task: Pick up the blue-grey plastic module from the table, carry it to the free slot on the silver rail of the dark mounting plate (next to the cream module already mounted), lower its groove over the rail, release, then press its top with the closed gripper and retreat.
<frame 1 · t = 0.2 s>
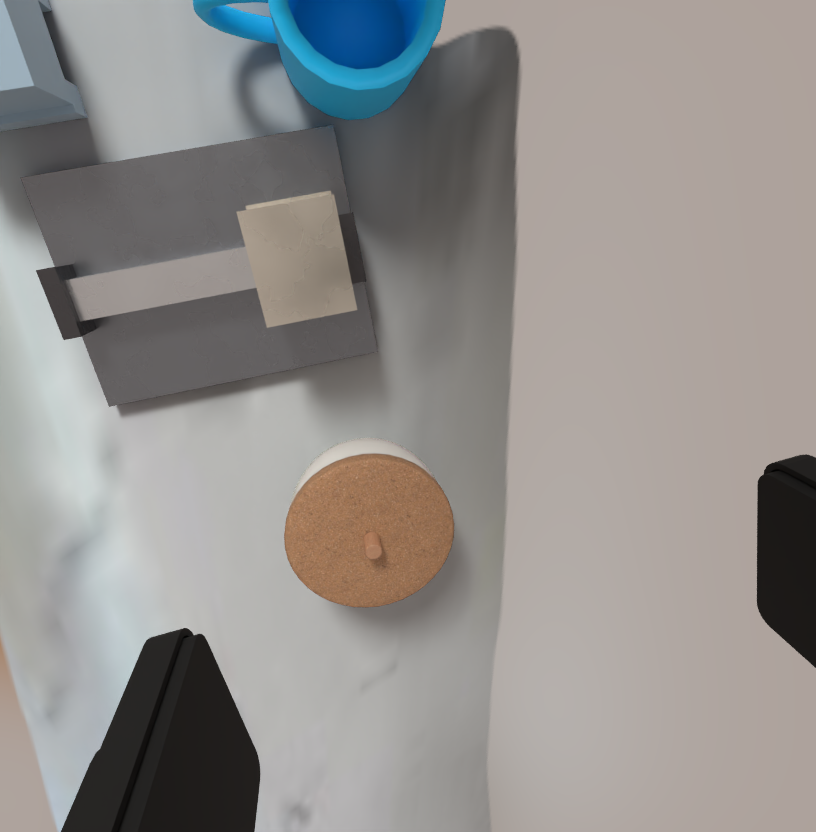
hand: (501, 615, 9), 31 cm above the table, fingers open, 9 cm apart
rail plate: (218, 271, 35), on the table
module: (3, 58, 30), on the table
lidded jar: (362, 482, 42), on the table
mug: (315, 40, 32), on the table
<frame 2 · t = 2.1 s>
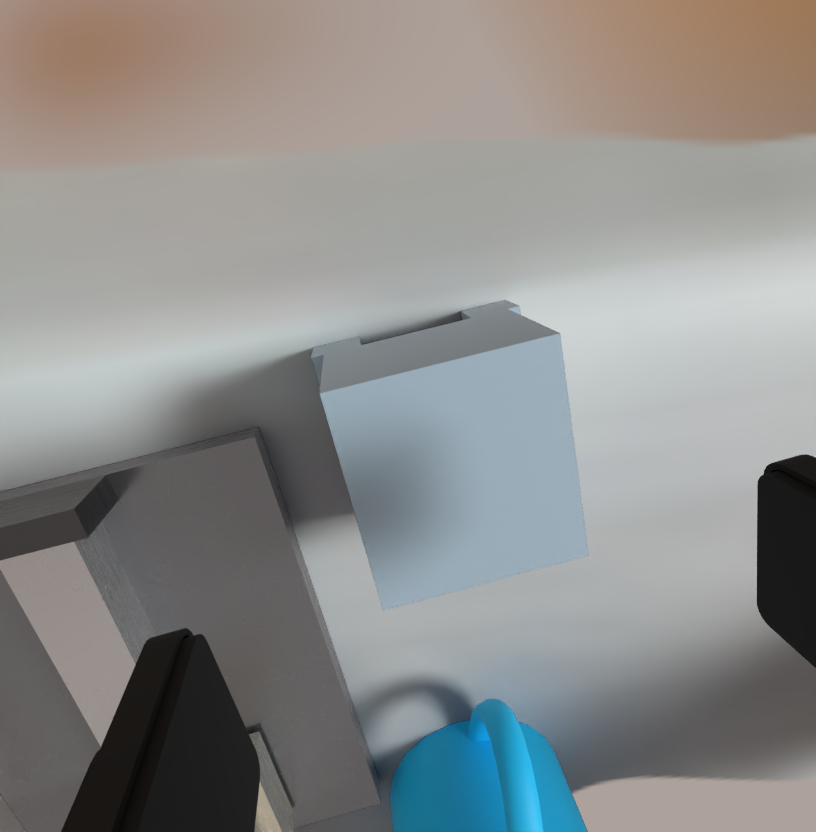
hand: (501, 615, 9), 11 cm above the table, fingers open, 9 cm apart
rail plate: (156, 674, 22), on the table
module: (429, 410, 20), on the table
mug: (475, 749, 26), on the table
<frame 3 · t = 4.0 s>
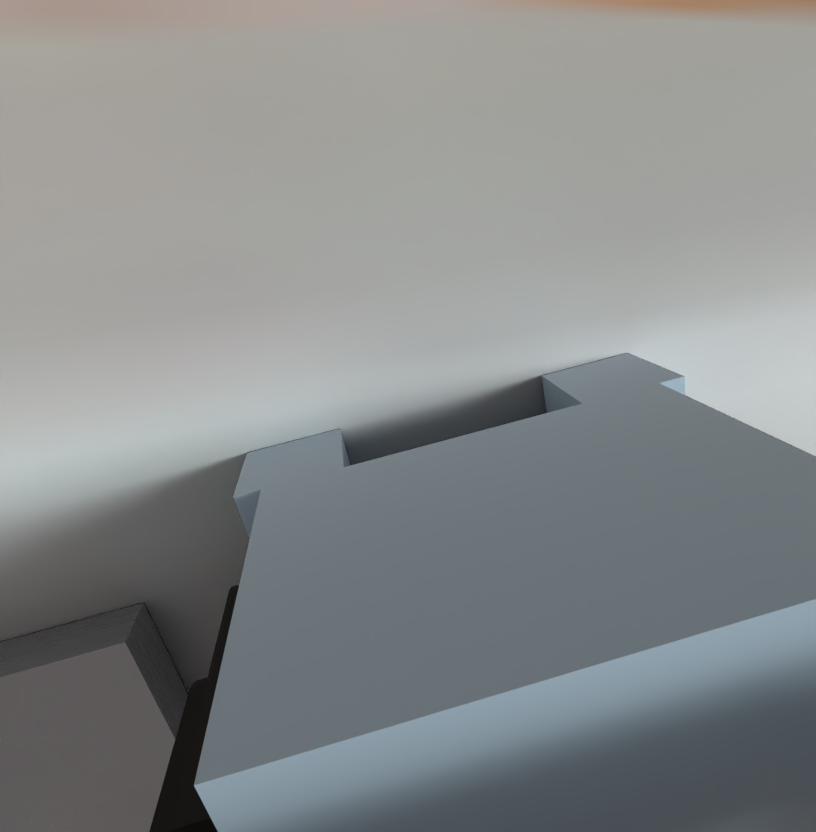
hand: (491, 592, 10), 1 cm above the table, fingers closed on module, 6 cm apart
module: (474, 557, 11), on the table, touching gripper
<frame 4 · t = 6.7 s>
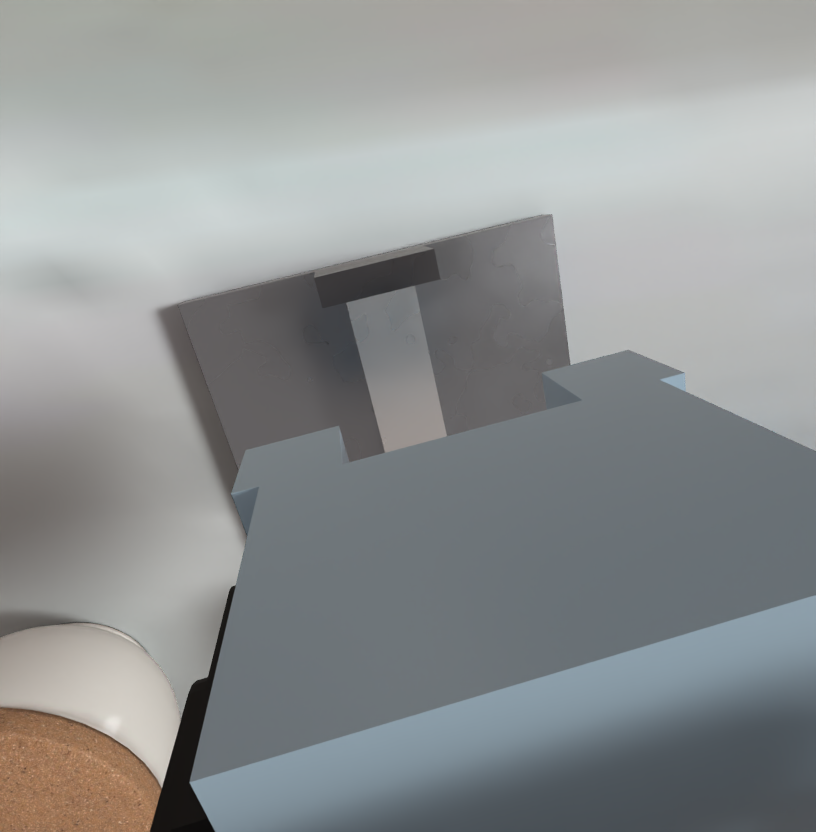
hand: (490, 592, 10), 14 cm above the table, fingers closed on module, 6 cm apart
rail plate: (416, 465, 24), on the table
module: (474, 555, 11), point 13 cm above the table, touching gripper
lidded jar: (86, 673, 25), on the table
when the fingers open (3 cm above the table, at t = 9.5 s): module stays where it is, resting on rail plate.
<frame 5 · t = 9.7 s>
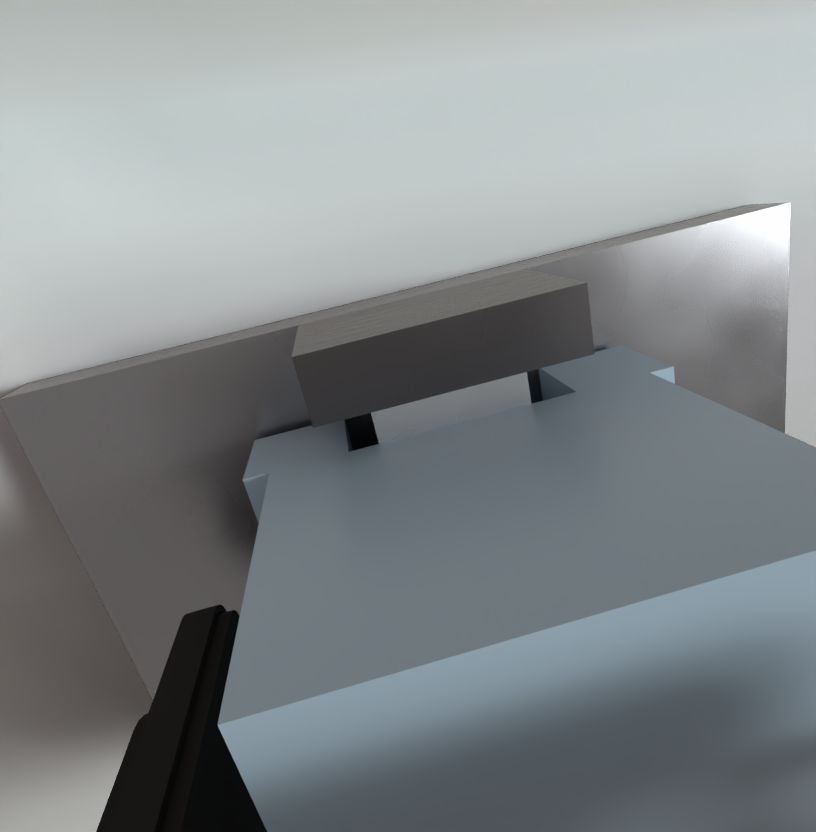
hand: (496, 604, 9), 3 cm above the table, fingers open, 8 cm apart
rail plate: (485, 654, 14), on the table
module: (473, 543, 11), point 1 cm above the table, touching rail plate
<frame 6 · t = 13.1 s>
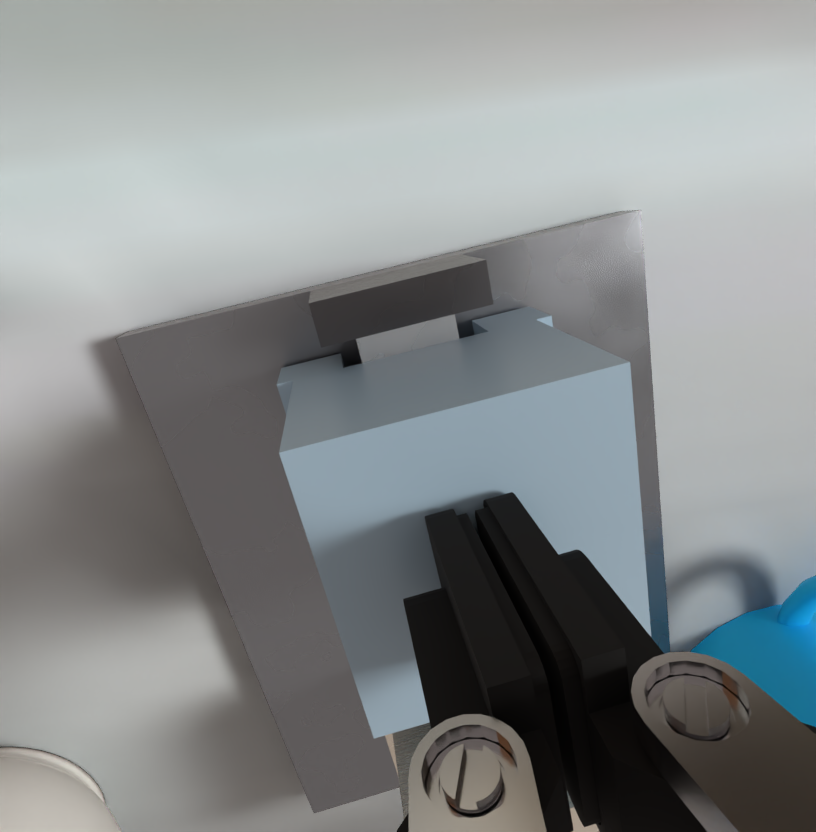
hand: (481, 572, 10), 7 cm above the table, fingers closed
rail plate: (445, 541, 18), on the table
module: (431, 446, 16), point 1 cm above the table, touching gripper, rail plate
lidded jar: (16, 806, 20), on the table
mug: (761, 645, 22), on the table
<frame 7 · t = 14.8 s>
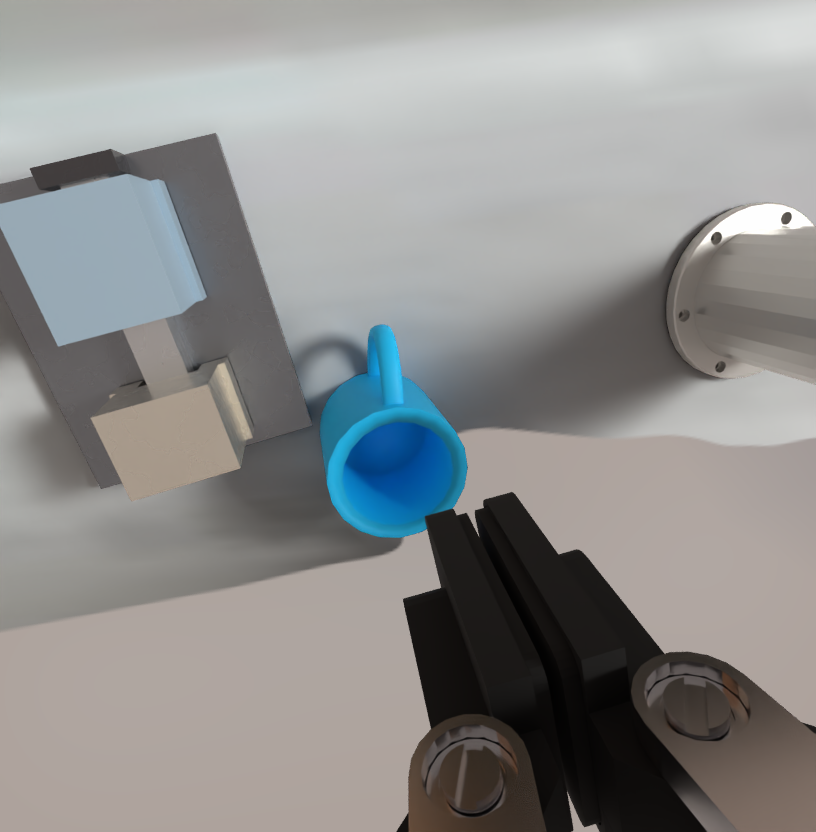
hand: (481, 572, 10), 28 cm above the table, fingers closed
rail plate: (157, 321, 34), on the table
module: (126, 256, 31), point 1 cm above the table, touching rail plate
mug: (376, 400, 39), on the table
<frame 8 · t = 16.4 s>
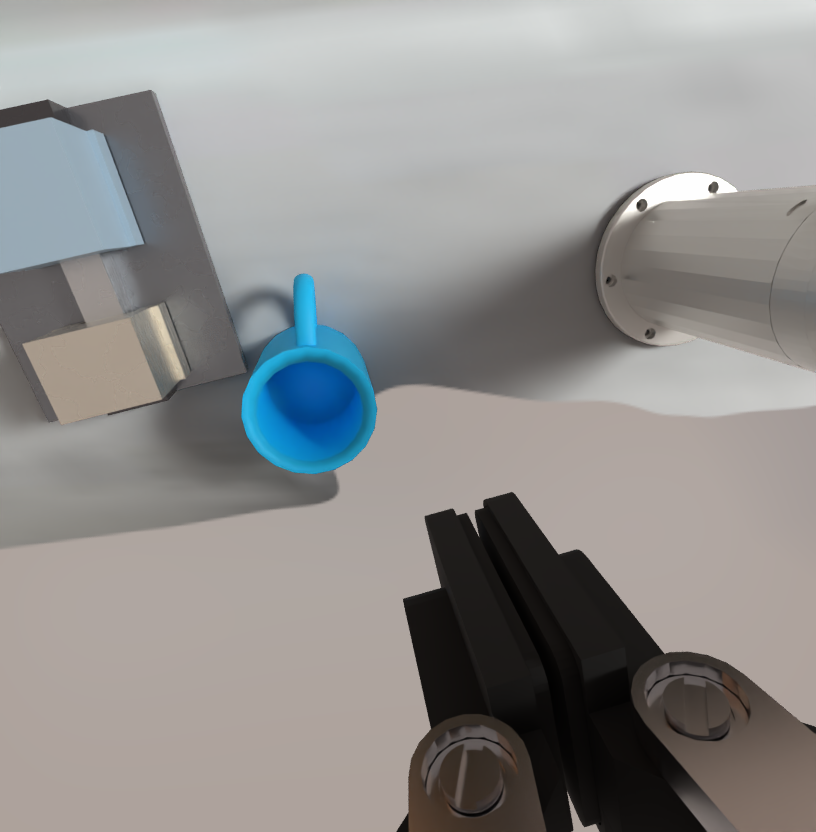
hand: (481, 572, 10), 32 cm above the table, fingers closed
rail plate: (101, 267, 37), on the table
module: (69, 203, 34), point 1 cm above the table, touching rail plate
mug: (310, 352, 41), on the table
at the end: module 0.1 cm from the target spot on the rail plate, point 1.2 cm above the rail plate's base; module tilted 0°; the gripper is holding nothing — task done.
